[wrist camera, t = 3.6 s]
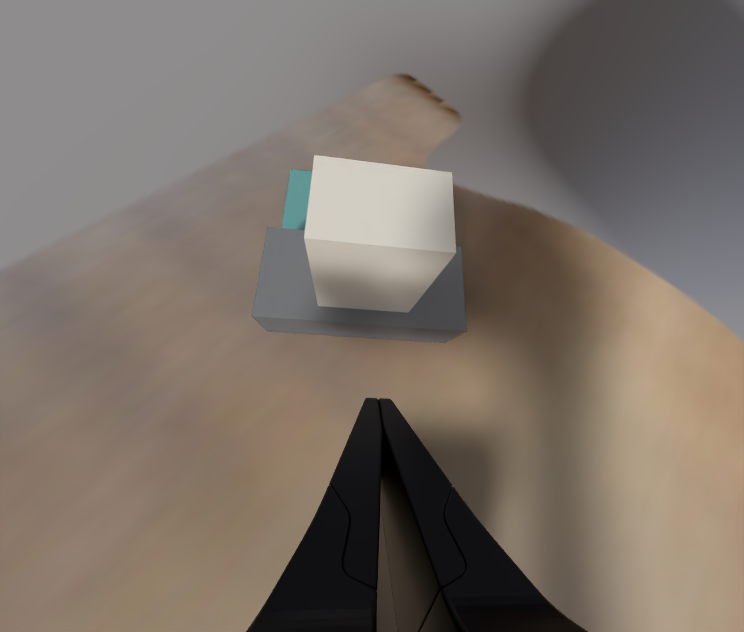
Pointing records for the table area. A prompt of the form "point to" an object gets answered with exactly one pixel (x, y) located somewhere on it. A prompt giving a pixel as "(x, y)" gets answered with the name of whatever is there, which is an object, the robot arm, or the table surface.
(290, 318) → the plinth
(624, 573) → the table surface
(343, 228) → the card box
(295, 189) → the mat
